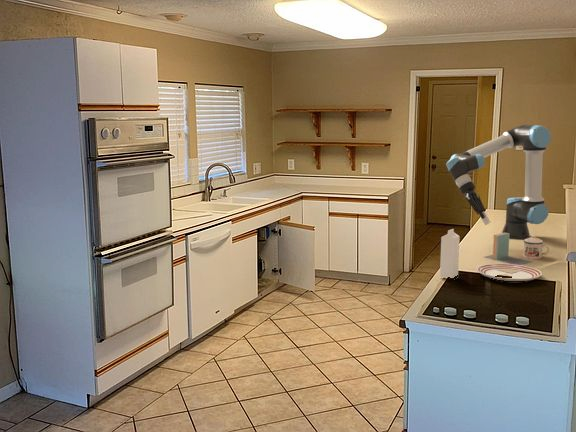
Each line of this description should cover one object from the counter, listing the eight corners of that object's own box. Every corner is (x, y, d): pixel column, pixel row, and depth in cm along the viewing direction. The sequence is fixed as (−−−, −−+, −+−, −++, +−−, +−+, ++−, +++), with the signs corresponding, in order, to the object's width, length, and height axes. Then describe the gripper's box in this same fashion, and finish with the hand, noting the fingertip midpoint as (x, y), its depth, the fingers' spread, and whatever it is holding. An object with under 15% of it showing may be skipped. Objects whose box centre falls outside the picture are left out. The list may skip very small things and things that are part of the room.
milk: (458, 277, 263) (460, 229, 259) (452, 280, 258) (454, 231, 254) (445, 275, 267) (447, 227, 263) (439, 278, 262) (441, 229, 258)
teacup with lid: (521, 259, 292) (522, 236, 290) (524, 255, 300) (525, 232, 298) (547, 262, 286) (548, 238, 284) (549, 257, 294) (551, 235, 292)
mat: (482, 258, 294) (482, 257, 294) (497, 255, 301) (497, 253, 301) (518, 267, 278) (518, 265, 278) (533, 263, 285) (533, 261, 285)
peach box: (492, 258, 291) (493, 234, 289) (503, 255, 296) (505, 232, 294) (497, 259, 289) (498, 235, 287) (508, 256, 294) (509, 233, 292)
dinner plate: (471, 268, 278) (471, 261, 277) (531, 269, 275) (531, 262, 274) (483, 285, 251) (483, 278, 251) (550, 287, 248) (550, 279, 248)
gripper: (465, 189, 314) (487, 227, 306) (454, 188, 304) (476, 227, 296) (476, 181, 310) (499, 219, 302) (465, 180, 300) (488, 220, 292)
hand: (487, 223), depth 299 cm, fingers closed
